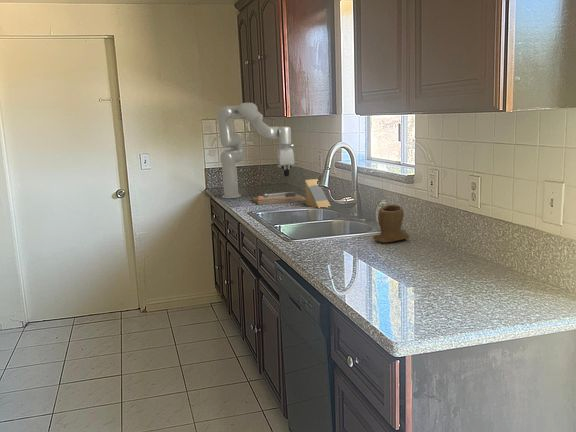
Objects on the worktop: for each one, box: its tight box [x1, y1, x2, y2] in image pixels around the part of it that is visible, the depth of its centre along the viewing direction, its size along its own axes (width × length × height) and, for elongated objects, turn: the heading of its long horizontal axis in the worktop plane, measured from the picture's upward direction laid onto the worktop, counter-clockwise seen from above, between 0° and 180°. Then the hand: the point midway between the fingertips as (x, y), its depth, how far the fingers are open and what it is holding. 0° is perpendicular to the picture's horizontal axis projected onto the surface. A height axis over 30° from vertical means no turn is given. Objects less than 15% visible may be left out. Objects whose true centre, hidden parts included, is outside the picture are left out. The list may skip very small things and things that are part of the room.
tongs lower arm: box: [263, 194, 296, 199], centre depth 360 cm, size 23×4×1 cm, turn 106°
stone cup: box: [372, 204, 410, 244], centre depth 236 cm, size 15×12×15 cm
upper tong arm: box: [262, 191, 297, 197], centre depth 360 cm, size 20×4×2 cm, turn 106°
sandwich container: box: [304, 178, 332, 209], centre depth 332 cm, size 9×15×15 cm, turn 27°
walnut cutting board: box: [251, 193, 306, 206], centre depth 360 cm, size 19×30×2 cm, turn 106°
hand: (286, 176), depth 359 cm, fingers closed
